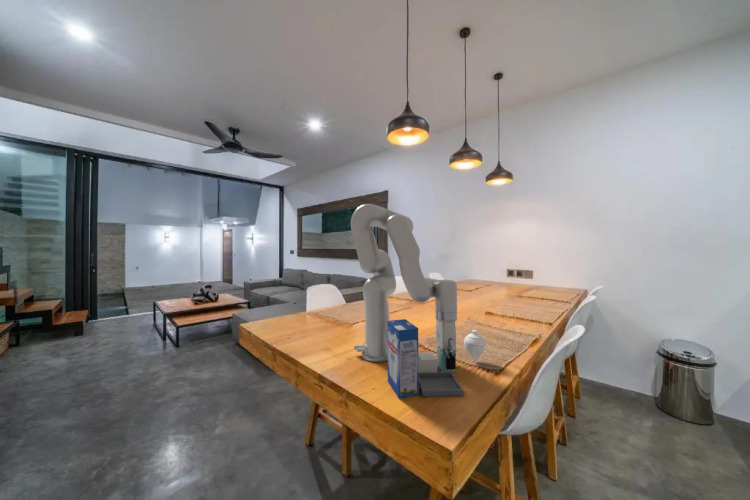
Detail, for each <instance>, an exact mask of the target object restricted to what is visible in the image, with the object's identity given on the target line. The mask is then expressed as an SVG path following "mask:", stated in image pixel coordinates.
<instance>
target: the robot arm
mask: <svg viewBox="0 0 750 500" xmlns="http://www.w3.org/2000/svg"><path fill="white" fill-rule="evenodd" d="M372 227H378V228H380V229H382V230H385V231H386V232H387V234H388V235H387V236H388V237H389V239H390V241H391V244H392V246H393V248H394V251H395V253H396V255H397V257H398V265H399V271H400V275H401V278H402V281H403V283H404V286H405V288H406V290H407V292H408V294H409V297H411V299H412V300H413V301H414V302H416V303H419V304H420V303H421V304H422V303H423V304H424V303H426V302H427V301H429V300H430V299H432V298H434V301H435V303H434V305H435V306H434V308H435V309H434V314H435V315H434V316H435V317H434V318H435V320H436V321H435V322H436V324H435V343H436V344H437V347H440V348H441V349H442V350H443V351H444V350H446V355H447V357H446V369H447V370H449V369H457V361H456V360H457V355H456V354H457V330H456V329H457V328H456V322H457V321H458V285H457V282H456V281H455V280H452V279H436V278H430V277H425V276H424V273H423V271H422V267H421V264H420V257H421V255H420V254H421V249H420V247H419V245H418V242H417V240H416V238H415V236H414V234H413V230H414V223H413V221H412V219H411V218H410V217H408V216H407V215H403V214H400V213H399V212H395V211H394V210H391V209H388V208H385V207H383V206H380V205H377V204H373V203H364V204H361V205H360V206H357V208H356V209H355V210H354V212H353V213H352V216H351V218H350V229H351V233H352V237H353V241H354V246H355V250H356V254H357V259H358V262H359V266H360V268H361V271H363V273H366V274H373V275H372V277H369V278H368V279H366V281H365V282H364V284H363V287H362V295H363V303H364V321H365V322H364V323H365V325H364V327H365V328H364V329H365V331H364V334H365V336H364V337H365V341H364V343H362V344H354V345H353V347H354V348H353V350H354V351H356V353H361V357H362V359H364V360H366V361H368V362H372V363H380V362H381V363H382V362H386V361H387V362H388V348H387V321H390V308H389V307H390V306H389V303H388V297H390V296H391V295H393V294H394V292H395V291H396V289H397V281H396V274H395V272H394V268H393V264H392V260H391V257H390V255H389V254H388V253H387V252H386V250H383V249H381V248H380V249H379V246H378V243H377V238H376V236H375V234H374V232H373V229H372ZM447 347H450V348H447ZM448 351H451V352H450V353H449V352H448Z"/></svg>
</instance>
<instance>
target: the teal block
mask: <svg viewBox="0 0 750 500" xmlns="http://www.w3.org/2000/svg"><path fill="white" fill-rule="evenodd" d="M447 348H450V347H447ZM448 352H449V353H450V352H451V351H448ZM446 357H447V355H446V350H444V351H443V350H442V349H441V348H440V347H438V346H437V347H436V359H437V367H438V368H439V369H438V370H440V372H452V373H456V372H457V371H456V369H457V368H456V369H449V370H447V369H446Z"/></svg>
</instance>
